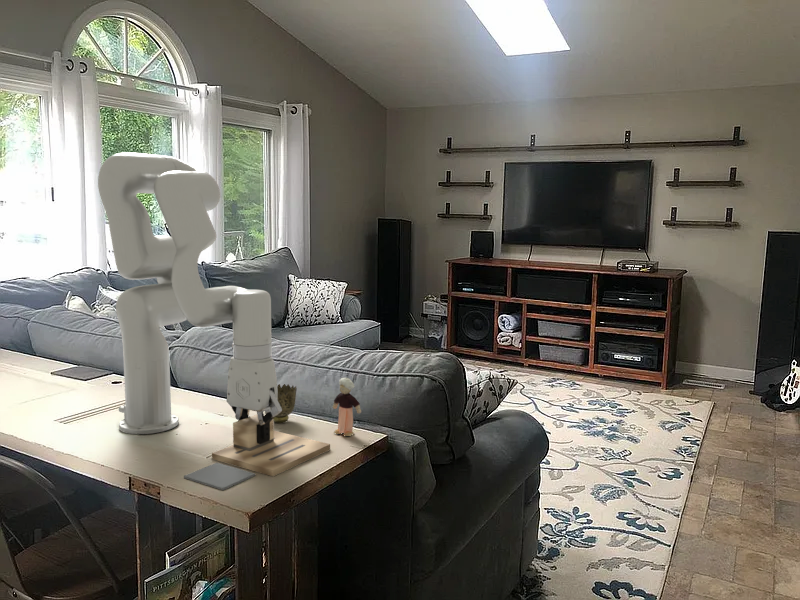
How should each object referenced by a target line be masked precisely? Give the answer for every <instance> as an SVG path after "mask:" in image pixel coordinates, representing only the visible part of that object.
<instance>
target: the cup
mask: <svg viewBox="0 0 800 600" xmlns="http://www.w3.org/2000/svg"><path fill="white" fill-rule="evenodd" d="M277 391H278V399H277V400H278V402H279V404H280V406H281V408H282V412H280V413H279V414H278V415H276V416H275V417H274V418H273V423H277V424H283V422H284V423H287V422H288V421H289V419H290V417H289V415H290V414H291V413H292V412H293V411H294V410H295V405H296V397H297V385H295V386H294V385H293V384H292V385H291V386H290V384H284V383H283V385H282V386H281V384H280V383H279V384H277ZM270 408H271V407H270ZM271 409H272V408H271ZM286 421H287V422H286Z"/></svg>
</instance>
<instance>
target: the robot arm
mask: <svg viewBox="0 0 800 600" xmlns="http://www.w3.org/2000/svg"><path fill="white" fill-rule="evenodd" d="M97 187H98V193H99V197H100V200H101V202H102V205H103V208H104V211H105V213H106V217H107V221H108V225H109V226H108V227H109V231H110V232H109V235H110V238H111V244H112V250H113V256H114V261H115V264H116V269H117V272H118V273H119V275H120V276H121V277H122V278H124V279H126V280H130V281H135V280H136V281H137V280H149V279H156V281H157V284H156V283H152V284H146V285H145V284H144V285H137V286H132V287H131V288H127V289H126V290H124V291H122V292H121V293H120V294H119V295H118V296H119V297H118V298H117V301H116V304H115V310H116V311H115V312H116V317H117V321H118V325H119V329H120V334H121V342H122V354H123V355H122V358H123V378H124V379H123V380H124V397H125V402H124V404H123V405H120V406H119V407H118V412H120V413H123V415H124V416H123V419H121V420H120V421H119V422H118V429H119V431H121V432H123V433H126V434H131V435H150V434H152V435H153V434H156V433H157V434H158V433H163V432H167V431H169V430H172V429H174V428H176V427H177V426H178V425H179V417H178V416H177V415H175V414H172V399H171V397H172V395H171V373H170V372H171V371H170V370H171V369H170V351H169V349H170V348H169V344H168V341H167V339H166V337H165V336H164V334H163V332H162V330H161V328H162V327H165V326H170V325H174V324H179V323H183V322H186V321H187V322H188V323H189V324H191V325H193V326H194V327H197V328H210V327H214V326H219V325H224V324H230V323H232V344H231V349H232V350H233V351H232V352H233V353H232V354H233V356H232V357H230V360H229V365H228V370H227V371H228V373H227V384H226V385H227V389H226V394H227V395H226V397H227V398H226V399H225V400H226V403H227V404H228V405H229V406H230V407H231V409H232V411H233V413H234V414H235V416H234V417H235V419H236V421H239V420H242V419H245V418H248V417H251V416H250V411H253V412H256V415H258V421H259V424H258V425H257V443H258V444H262V443H264V442H267V441H269V440H270V422H272V420H273V418H274V417H275V416H276V415H278V414H279V413H280V412H282V408H281V406H280V404H279V402H278V400H277V399H278V391H277V387H278V377H277V372H276V371H277V370H276V366H275V359H274V358H273V357H272V355H273V354H272V353H273V351H272V350H273V349H272V347H273V345H272V341H273V340H272V297H271V294H270V293H269V292H268V291H266V290H264V289H248V288H245V287H242V286H237V285H226V286H225V285H224V286H214V287H209V288H208V287H207V288H205V286H204V284H203V281H202V279H201V277H200V273H199V268H198V266H199V265H198V261H199V257H200V255H201V253H202V252H203V251H205V250H207V249H208V248H209V247H211V245H213V244H214V243H215V241H216V240H217V232H216V230H215V228H214V225H213V222H212V221H211V218H210V215H209V214H208V212H209V211H211V210H214V209H215V208H216V207H217V206H218V205H219V202H220V200H221V199H220V198H221V190H220V187H219V184H218V182H217V181H216V179H215V178H214V177H213V176H212V175H211V174H209V173H208V172H206V171H204V170H202V169H200V168H198V167H196V166H194V165H192V164H190V163H188V162H186V161H183V160H182V159H179V158H177V157H173V156H170V155H162V154H151V153H144V152H143V153H141V152H119V153H115V154H112V155H110V156H108V157H107V158H106V159H105V160H104V161H103V163H102V165H101V166H100V169H99V173H98V177H97ZM138 194H150V195H151V194H154V196H155V200H156V201H157V204H158V207H159V209H160V211H161V214H162V216H163V217H162V218H163V219H164V221H165V224H166V226H167V229H168V231H169V233H170V235H164V234H163V235H161V234H160V235H159V234H158V235H154V233H153V229H152V225H151V223H152V222H151V218H150V214H149V211H148V210H147V209H146V207H145V205H144V204H143V202H142V201H141V200H140V199H139V197H138V196H137V195H138ZM160 327H161V328H160ZM270 407H271V408H272V409H271V408H270Z"/></svg>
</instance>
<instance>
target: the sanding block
mask: <svg viewBox="0 0 800 600" xmlns="http://www.w3.org/2000/svg"><path fill="white" fill-rule="evenodd" d="M274 423H275V422H274V421H273V420H272V422H270V440H269V441H267V442H264V443H262V444H258V443H257V425H258V424H259V421H258V415H257V414H254V415H251V416H250V417H249V416H248V418H245V419H242V420H239V421H238V420H236V421H234V422H232V437H233V439H232V443H233V444H232V445H233V447H236V448H240V449H244V450H247V451H251V450H253V449H256V448H258V447H261V446H263V445H266V444H268V443H271V442H273V441H274V431H275V429H274V426H275V425H274Z"/></svg>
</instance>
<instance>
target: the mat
mask: <svg viewBox="0 0 800 600" xmlns="http://www.w3.org/2000/svg"><path fill="white" fill-rule="evenodd" d="M255 476H256V472H255V473H254V472H250V471H247V470H244V469H241V468H239V467H238V468H237V467H235V466H230V465H228V464H225V463H224V464H223V463H220V462H215V463H211V464H210V465H208V466H205V467H203V468H201V469H200V468H199V469H197V470H195V471H192V472H190V473H187V474H185V475H183V478H184V479H186V480H190V481H192V482H195V483H199V484H202V485H205V486H208V487H211V488H215V489H218V490H221V491H224V490H227V489H229V488H231V487H233V485H234V486H236V485H238V484H241V483H242V482H245V481H247V480H248V479H251V478H253V477H255Z"/></svg>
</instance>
